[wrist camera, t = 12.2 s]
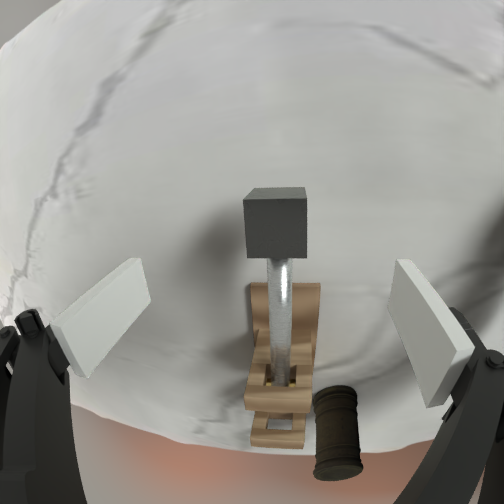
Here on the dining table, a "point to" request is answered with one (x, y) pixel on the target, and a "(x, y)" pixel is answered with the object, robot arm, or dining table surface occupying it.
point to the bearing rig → (301, 368)
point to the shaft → (277, 261)
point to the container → (337, 434)
